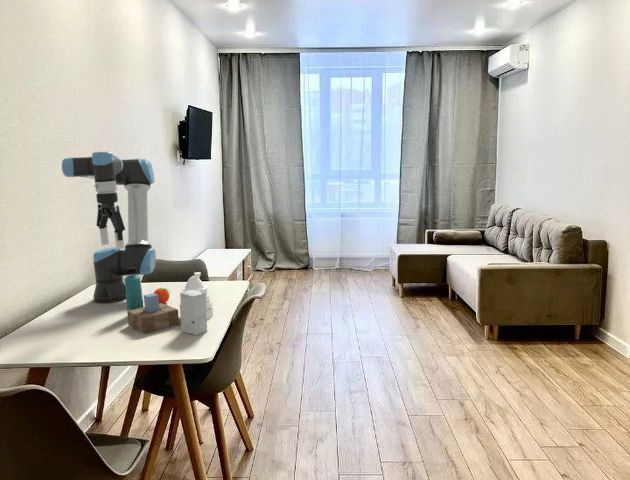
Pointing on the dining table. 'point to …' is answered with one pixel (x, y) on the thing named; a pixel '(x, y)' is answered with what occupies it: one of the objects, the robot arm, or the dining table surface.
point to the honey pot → (197, 285)
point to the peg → (151, 303)
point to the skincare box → (193, 312)
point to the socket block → (153, 319)
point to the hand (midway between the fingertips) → (112, 246)
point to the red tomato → (162, 295)
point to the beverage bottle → (133, 290)
